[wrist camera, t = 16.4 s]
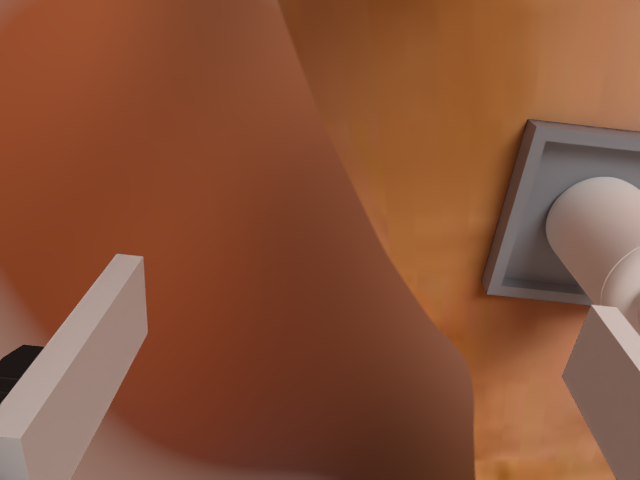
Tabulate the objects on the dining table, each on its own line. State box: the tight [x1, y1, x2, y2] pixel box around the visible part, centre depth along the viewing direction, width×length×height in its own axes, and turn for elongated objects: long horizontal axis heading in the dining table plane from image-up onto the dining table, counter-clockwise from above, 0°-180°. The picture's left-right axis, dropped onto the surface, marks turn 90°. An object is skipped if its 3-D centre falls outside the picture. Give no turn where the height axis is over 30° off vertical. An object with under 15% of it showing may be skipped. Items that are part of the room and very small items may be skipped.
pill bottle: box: [546, 177, 640, 336], centre depth 38 cm, size 8×8×15 cm
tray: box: [481, 119, 640, 305], centre depth 44 cm, size 15×15×2 cm
